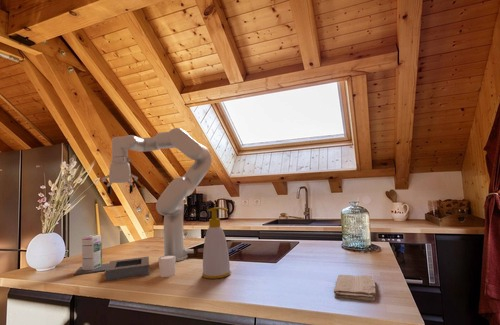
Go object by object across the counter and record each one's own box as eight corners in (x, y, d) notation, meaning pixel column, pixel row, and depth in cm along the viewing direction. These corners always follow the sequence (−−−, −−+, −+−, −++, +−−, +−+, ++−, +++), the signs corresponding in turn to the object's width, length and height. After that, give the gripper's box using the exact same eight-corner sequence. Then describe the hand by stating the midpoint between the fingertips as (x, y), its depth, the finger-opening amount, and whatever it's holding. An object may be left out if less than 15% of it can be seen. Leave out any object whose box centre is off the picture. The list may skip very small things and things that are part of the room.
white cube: (179, 272, 117) (179, 255, 118) (169, 278, 111) (169, 259, 111) (165, 272, 119) (165, 254, 120) (155, 277, 113) (154, 259, 114)
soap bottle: (224, 280, 105) (221, 208, 107) (196, 278, 109) (194, 209, 111) (236, 271, 115) (233, 206, 117) (210, 269, 119) (208, 206, 121)
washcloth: (333, 300, 84) (332, 289, 84) (337, 280, 100) (336, 271, 101) (377, 304, 80) (376, 292, 80) (374, 282, 96) (373, 273, 97)
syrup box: (93, 270, 125) (93, 236, 127) (81, 270, 127) (81, 236, 128) (102, 266, 131) (102, 234, 132) (91, 266, 132) (90, 234, 133)
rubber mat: (108, 264, 137) (108, 263, 137) (105, 271, 125) (105, 269, 125) (80, 268, 132) (80, 266, 132) (73, 275, 121) (73, 273, 121)
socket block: (148, 265, 131) (148, 256, 132) (149, 274, 116) (148, 264, 117) (110, 270, 126) (110, 261, 126) (105, 281, 111) (105, 270, 111)
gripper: (138, 161, 154) (138, 193, 153) (102, 161, 149) (102, 194, 147) (137, 159, 147) (138, 193, 146) (100, 160, 141) (100, 195, 140)
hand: (120, 193), depth 147 cm, fingers open, 9 cm apart
